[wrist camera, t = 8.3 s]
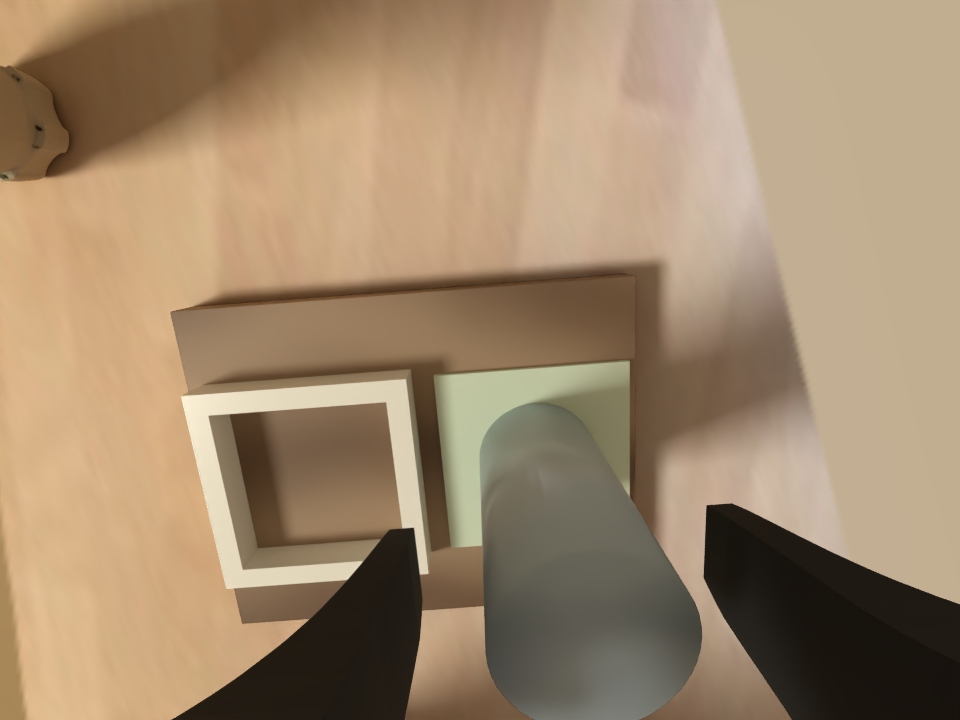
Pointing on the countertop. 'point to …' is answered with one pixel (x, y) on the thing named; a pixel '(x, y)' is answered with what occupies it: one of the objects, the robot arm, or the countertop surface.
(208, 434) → the cream square frame
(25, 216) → the countertop surface
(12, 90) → the handle
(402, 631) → the robot arm
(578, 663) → the grey-blue cylinder
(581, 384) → the pad
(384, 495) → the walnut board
